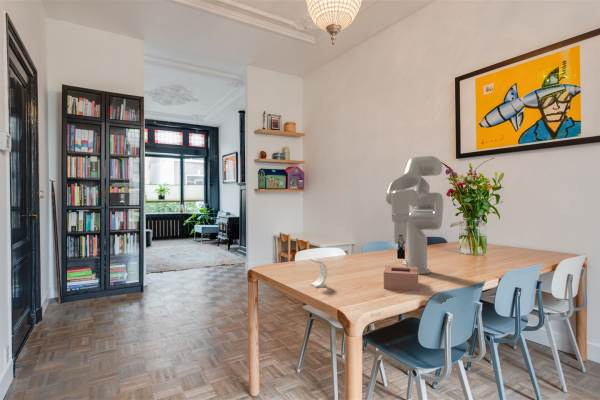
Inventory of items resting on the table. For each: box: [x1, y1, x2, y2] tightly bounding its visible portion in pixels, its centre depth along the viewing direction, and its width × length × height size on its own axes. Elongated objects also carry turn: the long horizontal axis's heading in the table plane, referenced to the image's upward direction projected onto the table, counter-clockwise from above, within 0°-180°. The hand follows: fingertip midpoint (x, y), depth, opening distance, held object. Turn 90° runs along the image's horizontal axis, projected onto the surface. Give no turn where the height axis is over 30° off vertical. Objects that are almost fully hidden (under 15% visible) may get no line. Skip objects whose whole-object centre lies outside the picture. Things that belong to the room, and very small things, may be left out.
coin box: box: [383, 265, 419, 292], centre depth 144 cm, size 14×14×7 cm
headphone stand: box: [309, 258, 328, 289], centre depth 146 cm, size 5×6×12 cm
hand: (401, 256), depth 145 cm, fingers open, 9 cm apart
